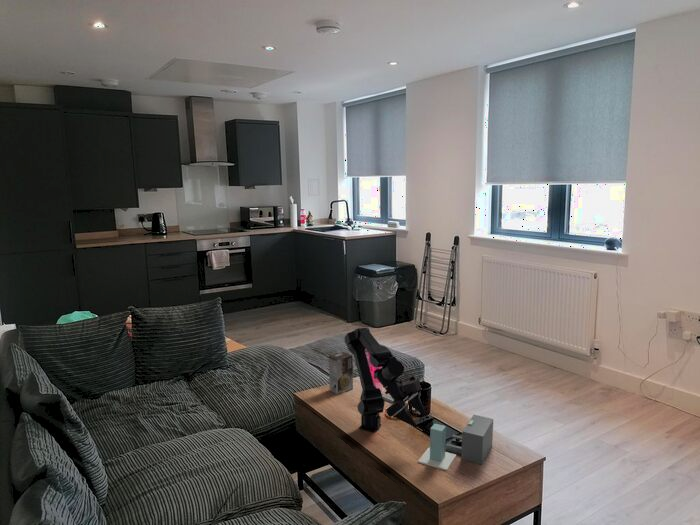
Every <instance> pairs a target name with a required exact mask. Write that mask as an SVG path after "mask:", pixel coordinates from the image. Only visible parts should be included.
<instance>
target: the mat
mask: <svg viewBox="0 0 700 525" xmlns="http://www.w3.org/2000/svg"><path fill="white" fill-rule="evenodd" d="M456 457H457V454H456V453H453V452H452V453H451V452H449V451H445V457H444V459H443V460H442V462H438V461H435V460H431V459H430V446H429V447H428V448H427V449H426V450H425V452H424V453H423V454H422V455H421V456H420V458H419V460H417V463H418V462H419V464H422V465H425V466H429V467H433V468H436V469H439V470H442V471H448V470H449V469H450V467H451V465H452V464H453V462H454V460H455V459H456Z"/></svg>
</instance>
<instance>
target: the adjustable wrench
mask: <svg viewBox="0 0 700 525" xmlns="http://www.w3.org/2000/svg"><path fill="white" fill-rule="evenodd" d="M381 394H382V397H383V399H384V401H386V402H389V403H392V404H393V401H394V400H393V398H392V397H391V396H390V395H388V394H387V395H386V393H385V392H383V391H382V393H381ZM405 406H408V403H407V402H405Z"/></svg>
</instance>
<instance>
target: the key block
mask: <svg viewBox="0 0 700 525" xmlns="http://www.w3.org/2000/svg"><path fill="white" fill-rule="evenodd" d="M429 432H430V434H429V435H430V436H429V441H430V442H429V448H430V459H431V460H435V461H438V462H442V460H443V459H444V457H445V452H446V441H447V440H446V439H447V438H446V437H447V434H446V433H447V426H446V425H442V424H439V423H434V424H433V425H432V426H431V427H430V431H429Z"/></svg>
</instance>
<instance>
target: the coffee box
mask: <svg viewBox="0 0 700 525" xmlns="http://www.w3.org/2000/svg"><path fill="white" fill-rule="evenodd" d="M353 360H354V359H353V354H350V353H348V352H347V351H346V352H345V351H342V352H339V353H335V354H332V355H329V356H328V372H329V373H328V374H329V375H328V377H329V382H328V383H329V391H331V393H332V392H333V393H335V395H340V394H343V393H344V392H348V391H351V390H353V389H354V377H353V376H354V375H353V374H354V370H353V368H354V367H353V363H354V362H353Z"/></svg>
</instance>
